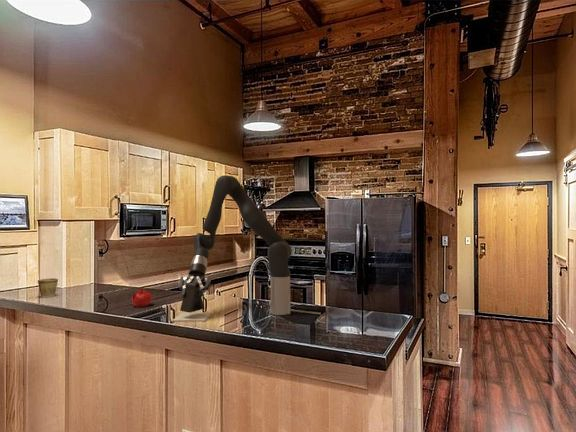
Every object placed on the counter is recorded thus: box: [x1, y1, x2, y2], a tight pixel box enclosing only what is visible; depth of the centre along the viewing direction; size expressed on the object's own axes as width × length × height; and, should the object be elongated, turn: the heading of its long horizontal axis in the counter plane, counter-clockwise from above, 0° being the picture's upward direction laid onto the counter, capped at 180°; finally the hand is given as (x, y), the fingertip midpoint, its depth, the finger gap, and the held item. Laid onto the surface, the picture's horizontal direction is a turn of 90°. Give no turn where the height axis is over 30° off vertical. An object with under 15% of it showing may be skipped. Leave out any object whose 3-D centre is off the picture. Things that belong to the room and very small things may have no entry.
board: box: [172, 311, 213, 323], centre depth 172 cm, size 14×14×1 cm
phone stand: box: [179, 282, 205, 313], centre depth 172 cm, size 9×6×12 cm, turn 147°
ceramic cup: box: [37, 277, 59, 299], centre depth 224 cm, size 13×10×10 cm
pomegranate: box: [131, 287, 153, 308], centre depth 197 cm, size 10×10×9 cm
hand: (191, 297), depth 170 cm, fingers closed on phone stand, 6 cm apart
